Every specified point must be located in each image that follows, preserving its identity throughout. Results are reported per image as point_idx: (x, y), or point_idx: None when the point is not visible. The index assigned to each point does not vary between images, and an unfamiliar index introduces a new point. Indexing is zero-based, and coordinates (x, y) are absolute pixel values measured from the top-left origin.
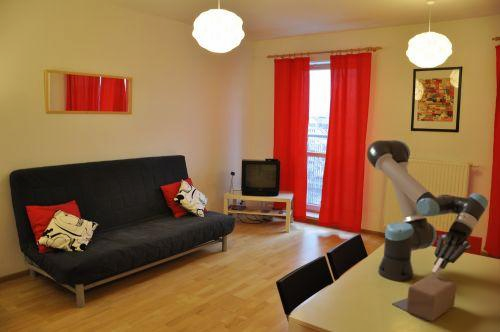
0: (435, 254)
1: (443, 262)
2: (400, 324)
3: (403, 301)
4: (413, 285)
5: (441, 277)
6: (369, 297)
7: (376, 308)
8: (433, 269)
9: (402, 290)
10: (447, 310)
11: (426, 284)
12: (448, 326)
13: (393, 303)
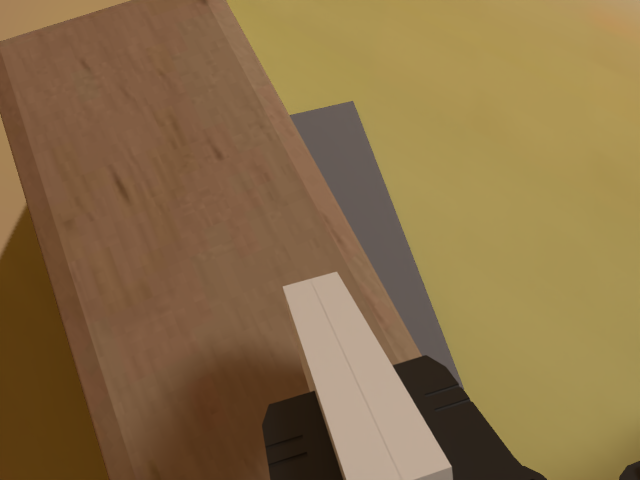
0: (631, 465)
1: (316, 478)
2: None
3: (361, 180)
4: (204, 5)
5: None
6: (455, 44)
7: (326, 12)
8: (334, 291)
9: (540, 297)
10: None
11: (185, 121)
12: (18, 243)
13: (349, 108)
